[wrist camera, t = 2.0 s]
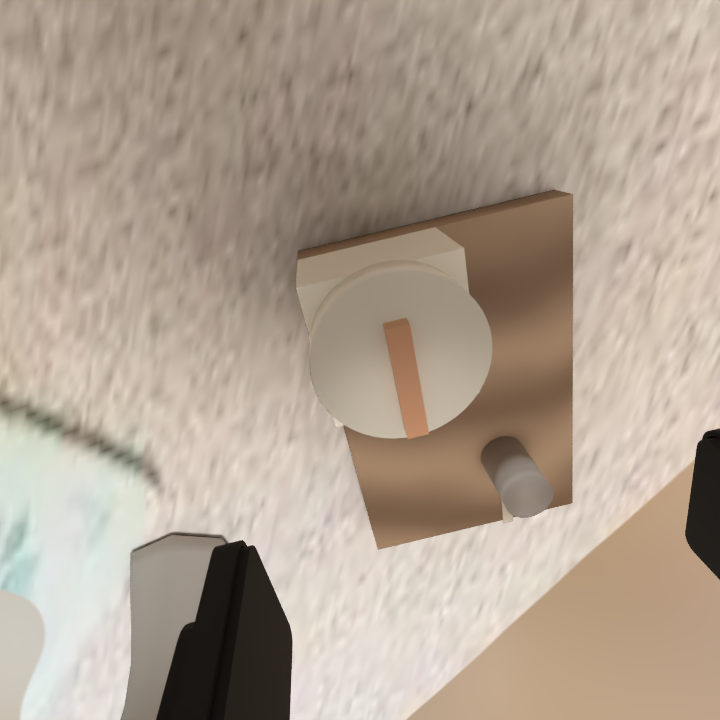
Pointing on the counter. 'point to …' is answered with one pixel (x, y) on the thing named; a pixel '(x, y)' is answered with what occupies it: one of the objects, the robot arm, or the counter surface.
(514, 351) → the hub board
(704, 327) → the counter surface
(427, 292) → the knob
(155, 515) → the counter surface
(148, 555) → the flask
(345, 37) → the counter surface
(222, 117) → the counter surface
